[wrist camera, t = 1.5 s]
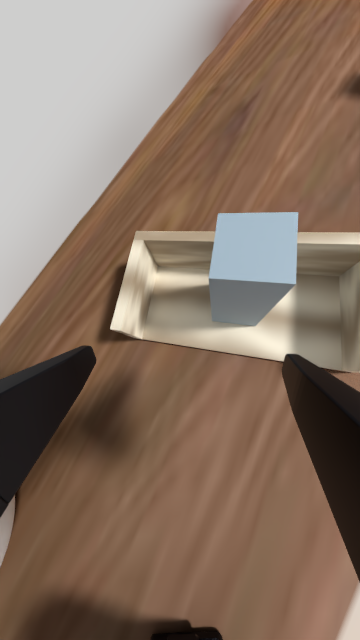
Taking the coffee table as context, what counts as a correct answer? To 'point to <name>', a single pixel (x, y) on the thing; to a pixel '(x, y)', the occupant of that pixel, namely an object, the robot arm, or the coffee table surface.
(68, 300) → the coffee table surface
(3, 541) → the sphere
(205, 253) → the birch crate
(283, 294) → the pale blue block
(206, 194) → the coffee table surface
